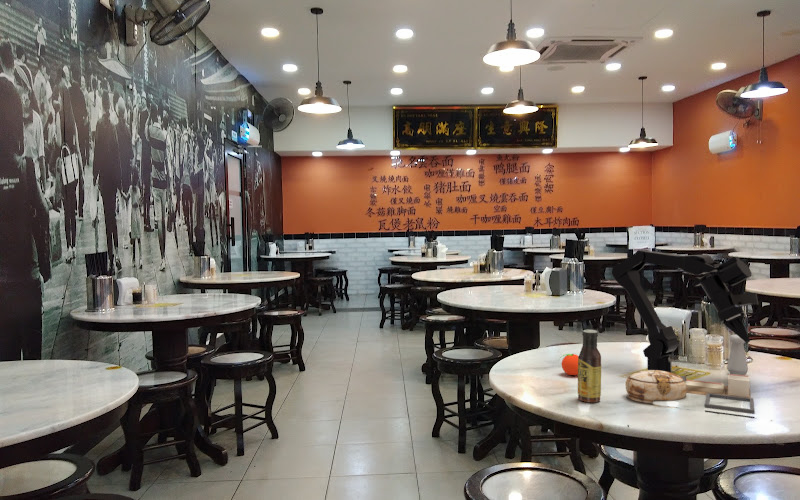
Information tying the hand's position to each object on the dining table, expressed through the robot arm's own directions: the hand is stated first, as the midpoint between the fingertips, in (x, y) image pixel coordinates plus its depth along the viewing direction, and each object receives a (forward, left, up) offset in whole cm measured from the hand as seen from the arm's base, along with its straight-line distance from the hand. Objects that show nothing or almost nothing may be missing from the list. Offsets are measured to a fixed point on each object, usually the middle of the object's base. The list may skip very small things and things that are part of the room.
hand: (748, 341), depth 162 cm
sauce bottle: (-38, -26, -15) cm, 49 cm away
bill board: (-8, -5, -15) cm, 18 cm away
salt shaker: (-2, +20, -15) cm, 25 cm away
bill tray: (-4, -17, -15) cm, 23 cm away
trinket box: (-22, -16, -15) cm, 31 cm away
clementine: (-49, -2, -15) cm, 52 cm away
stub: (-2, -5, -14) cm, 15 cm away
